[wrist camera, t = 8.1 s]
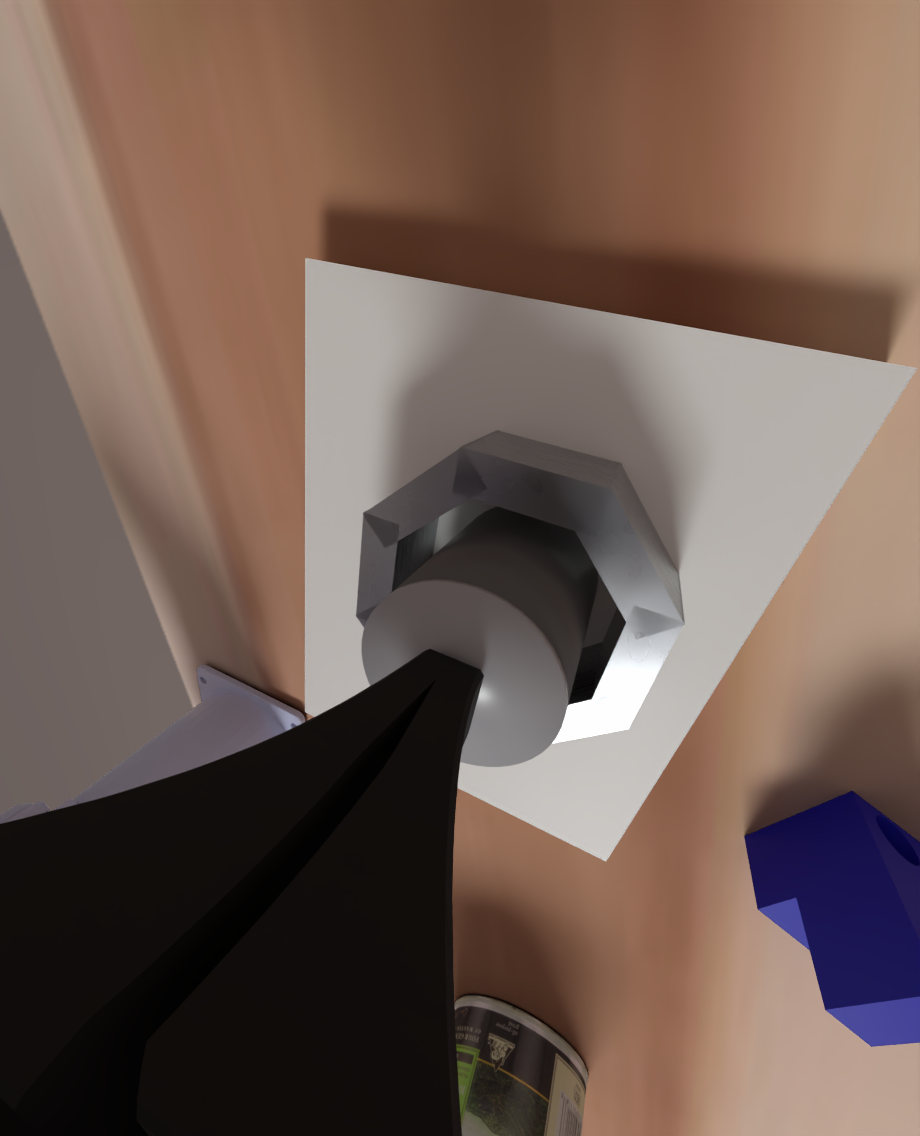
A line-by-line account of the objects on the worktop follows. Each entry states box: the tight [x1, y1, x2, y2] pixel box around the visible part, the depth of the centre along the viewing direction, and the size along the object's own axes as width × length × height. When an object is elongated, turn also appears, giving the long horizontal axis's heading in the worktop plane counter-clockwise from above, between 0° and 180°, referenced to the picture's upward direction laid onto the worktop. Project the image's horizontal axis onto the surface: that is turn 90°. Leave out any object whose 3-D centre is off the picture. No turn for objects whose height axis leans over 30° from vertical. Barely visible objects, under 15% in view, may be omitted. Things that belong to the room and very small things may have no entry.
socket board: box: [305, 258, 917, 861], centre depth 16 cm, size 20×16×4 cm
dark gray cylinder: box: [361, 507, 598, 767], centre depth 12 cm, size 5×5×6 cm
